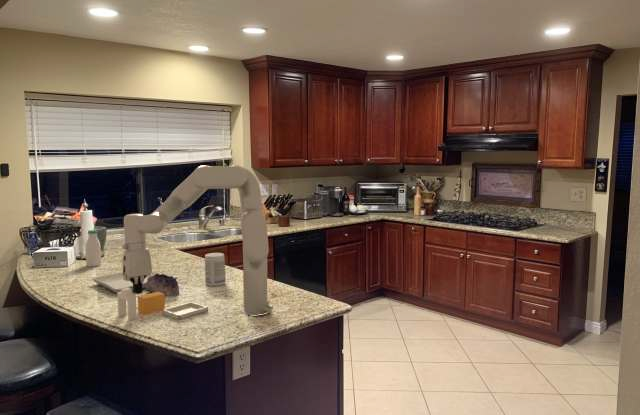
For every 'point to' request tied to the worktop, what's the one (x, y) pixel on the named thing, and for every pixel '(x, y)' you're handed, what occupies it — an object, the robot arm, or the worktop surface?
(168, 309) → the tray
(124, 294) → the beige blocky piece
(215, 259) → the supplement tub
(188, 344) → the worktop surface
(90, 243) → the milk bottle
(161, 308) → the orange block
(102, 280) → the square plate
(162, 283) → the geode
